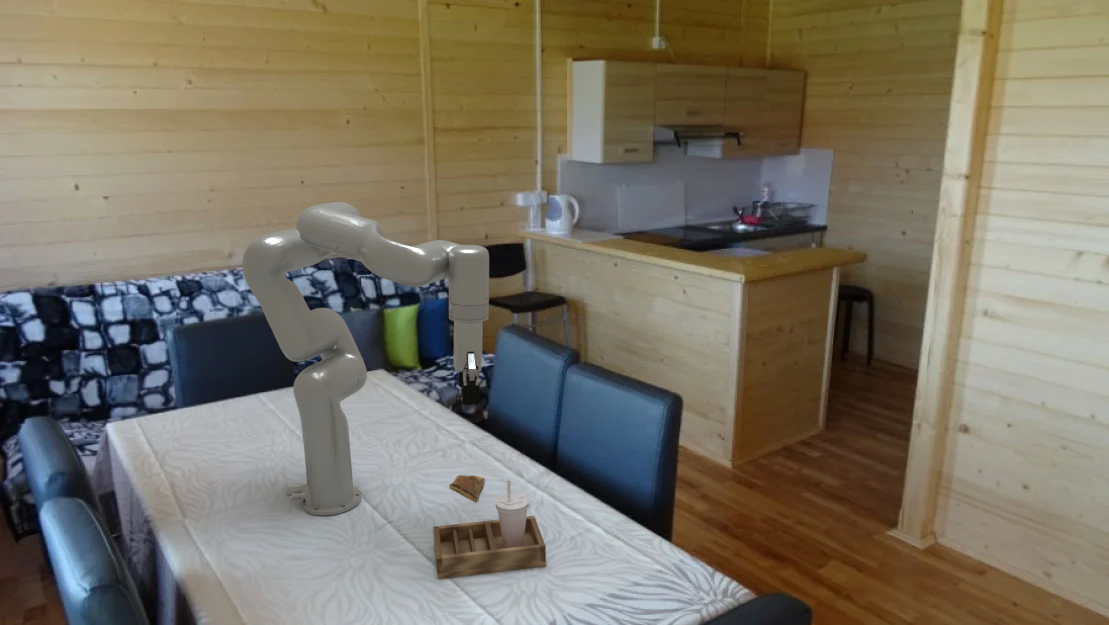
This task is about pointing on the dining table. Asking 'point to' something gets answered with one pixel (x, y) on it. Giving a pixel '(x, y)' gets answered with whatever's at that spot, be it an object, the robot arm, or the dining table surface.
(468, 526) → the wooden shelf
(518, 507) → the smoothie
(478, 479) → the shard
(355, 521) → the dining table surface
